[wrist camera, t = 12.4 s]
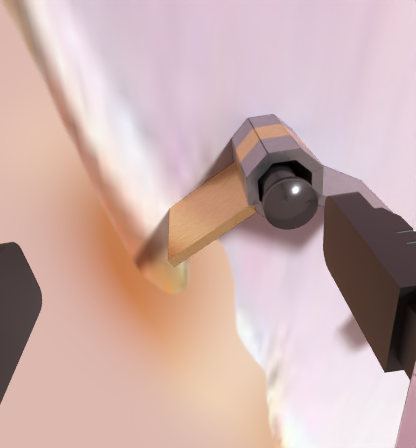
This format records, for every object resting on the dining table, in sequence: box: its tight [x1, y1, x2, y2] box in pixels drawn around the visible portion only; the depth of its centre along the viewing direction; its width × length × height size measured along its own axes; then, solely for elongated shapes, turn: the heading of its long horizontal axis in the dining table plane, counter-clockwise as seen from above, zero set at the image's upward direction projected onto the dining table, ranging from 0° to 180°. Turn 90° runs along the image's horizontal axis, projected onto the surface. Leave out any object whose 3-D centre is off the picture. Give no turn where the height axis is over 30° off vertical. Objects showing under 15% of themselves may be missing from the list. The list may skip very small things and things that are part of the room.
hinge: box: [168, 114, 393, 267], centre depth 39 cm, size 10×23×10 cm, turn 98°
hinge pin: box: [258, 161, 318, 229], centre depth 37 cm, size 4×4×14 cm
